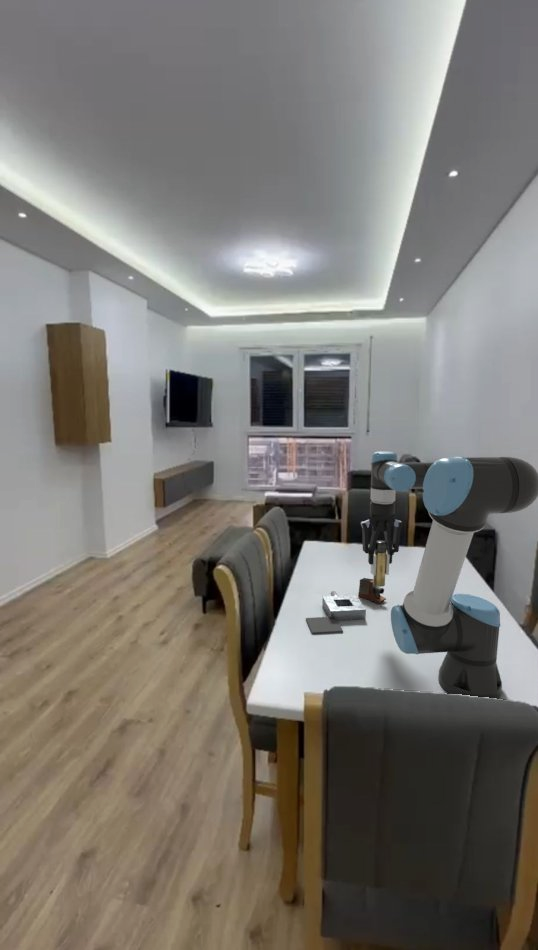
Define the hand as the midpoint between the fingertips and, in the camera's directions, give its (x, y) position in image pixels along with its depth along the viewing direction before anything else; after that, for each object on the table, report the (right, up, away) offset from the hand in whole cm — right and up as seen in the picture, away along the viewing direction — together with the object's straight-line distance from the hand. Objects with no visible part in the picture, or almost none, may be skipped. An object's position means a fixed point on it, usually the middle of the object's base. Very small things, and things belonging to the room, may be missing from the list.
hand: (379, 573), depth 151 cm
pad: (-17, -18, +4) cm, 25 cm away
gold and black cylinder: (0, -4, +1) cm, 4 cm away
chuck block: (-10, -16, +18) cm, 26 cm away
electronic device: (+3, -15, +25) cm, 29 cm away
